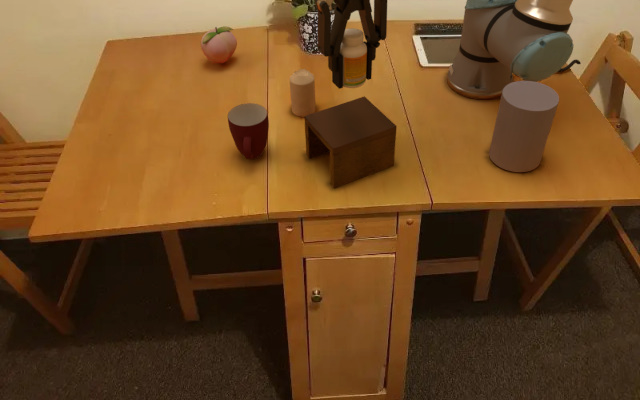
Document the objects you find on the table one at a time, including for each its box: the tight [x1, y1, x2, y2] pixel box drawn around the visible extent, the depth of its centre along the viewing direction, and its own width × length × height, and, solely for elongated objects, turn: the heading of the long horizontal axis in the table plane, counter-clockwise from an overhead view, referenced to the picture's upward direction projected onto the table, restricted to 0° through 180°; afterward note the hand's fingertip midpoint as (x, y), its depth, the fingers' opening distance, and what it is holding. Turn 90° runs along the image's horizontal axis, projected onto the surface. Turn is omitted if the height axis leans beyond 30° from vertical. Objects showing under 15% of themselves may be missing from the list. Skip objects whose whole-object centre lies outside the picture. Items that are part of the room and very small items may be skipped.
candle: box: [289, 68, 317, 118], centre depth 131 cm, size 6×6×10 cm
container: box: [488, 80, 560, 173], centre depth 115 cm, size 10×10×15 cm
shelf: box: [303, 95, 398, 189], centre depth 117 cm, size 14×12×10 cm
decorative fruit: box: [200, 26, 238, 64], centre depth 147 cm, size 9×8×10 cm
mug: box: [227, 102, 270, 160], centre depth 119 cm, size 10×8×10 cm
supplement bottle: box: [339, 27, 367, 89], centre depth 106 cm, size 5×5×10 cm
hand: (351, 80), depth 109 cm, fingers closed on supplement bottle, 5 cm apart
